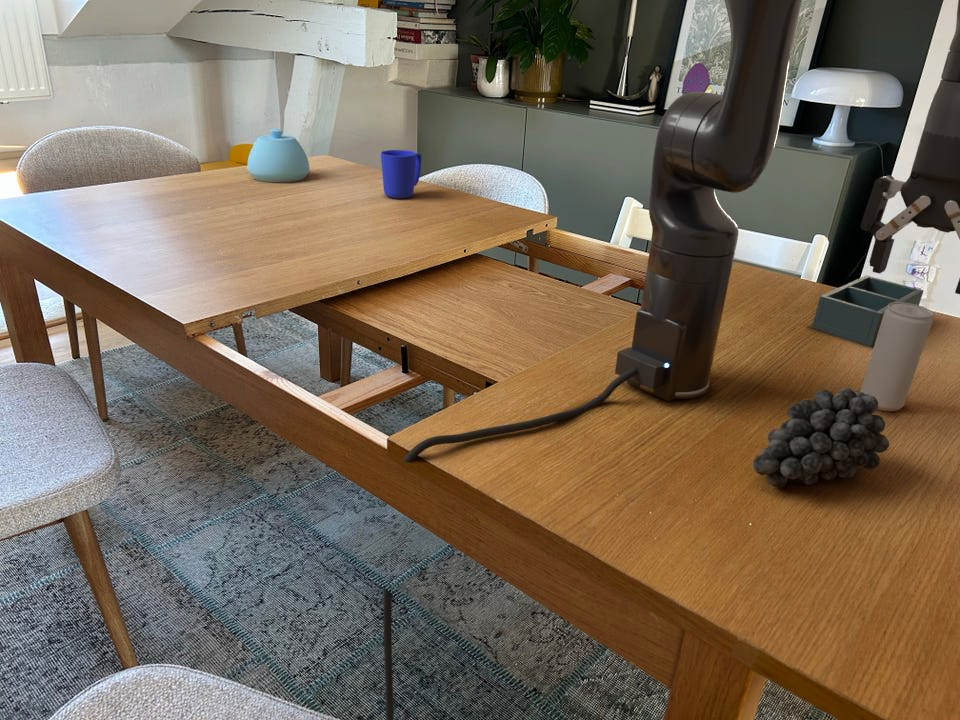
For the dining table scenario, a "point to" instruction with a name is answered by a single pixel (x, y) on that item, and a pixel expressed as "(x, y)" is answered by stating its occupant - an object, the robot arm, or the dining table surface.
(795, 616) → the dining table surface
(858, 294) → the divided storage box
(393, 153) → the mug
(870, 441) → the fruit
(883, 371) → the beverage can
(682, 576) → the dining table surface
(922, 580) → the dining table surface
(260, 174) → the sugar bowl
